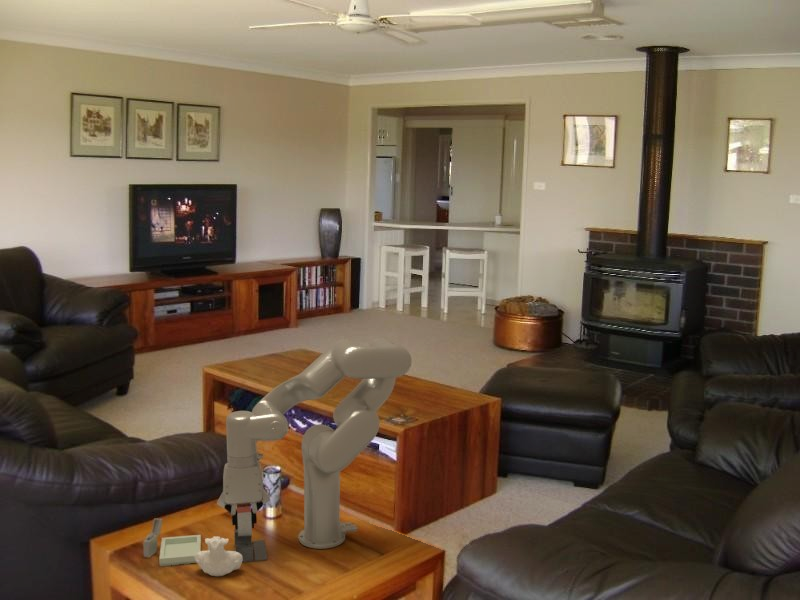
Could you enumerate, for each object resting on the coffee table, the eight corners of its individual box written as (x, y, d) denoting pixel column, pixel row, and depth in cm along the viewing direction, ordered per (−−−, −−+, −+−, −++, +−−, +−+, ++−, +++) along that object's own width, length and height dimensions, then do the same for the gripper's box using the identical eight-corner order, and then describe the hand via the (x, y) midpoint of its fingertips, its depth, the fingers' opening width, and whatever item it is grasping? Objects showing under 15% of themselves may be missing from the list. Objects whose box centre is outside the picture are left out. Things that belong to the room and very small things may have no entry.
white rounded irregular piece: (194, 581, 214) (186, 561, 206) (199, 552, 219) (192, 531, 211) (242, 582, 214) (236, 561, 206) (246, 553, 219) (240, 532, 211)
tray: (200, 542, 230) (200, 534, 230) (200, 563, 219) (200, 555, 218) (162, 545, 228) (161, 537, 228) (159, 566, 217) (159, 558, 216)
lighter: (149, 557, 221) (148, 528, 220) (143, 556, 222) (142, 527, 220) (163, 545, 228) (162, 517, 227) (157, 544, 229) (156, 516, 227)
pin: (251, 529, 226) (250, 500, 225) (251, 535, 223) (250, 506, 221) (237, 530, 225) (236, 501, 224) (238, 536, 222) (237, 507, 221)
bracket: (264, 540, 232) (264, 526, 231) (267, 560, 221) (266, 545, 220) (234, 543, 230) (234, 529, 229) (235, 563, 219) (235, 548, 218)
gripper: (273, 452, 226) (275, 517, 229) (209, 456, 222) (212, 523, 226) (275, 462, 219) (277, 530, 222) (209, 467, 215) (212, 536, 219)
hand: (244, 526), depth 224 cm, fingers closed on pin, 3 cm apart
